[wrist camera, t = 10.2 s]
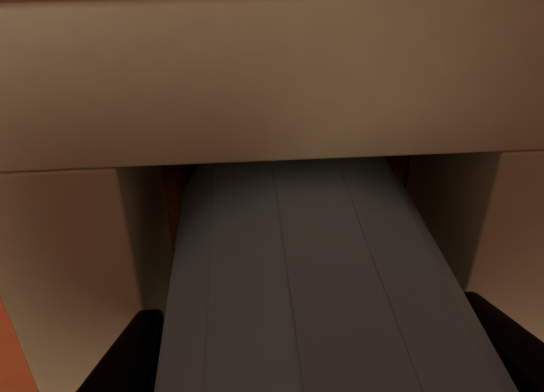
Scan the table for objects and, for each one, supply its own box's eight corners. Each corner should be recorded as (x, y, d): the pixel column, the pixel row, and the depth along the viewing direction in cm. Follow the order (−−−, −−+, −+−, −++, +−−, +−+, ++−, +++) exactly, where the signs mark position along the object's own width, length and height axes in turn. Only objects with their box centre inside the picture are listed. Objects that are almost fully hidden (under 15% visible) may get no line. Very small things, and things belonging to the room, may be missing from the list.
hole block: (712, 314, 17) (831, 424, 14) (106, 351, 16) (73, 481, 12) (953, -59, 11) (1276, -27, 8) (-1, -42, 10) (-120, 6, 6)
